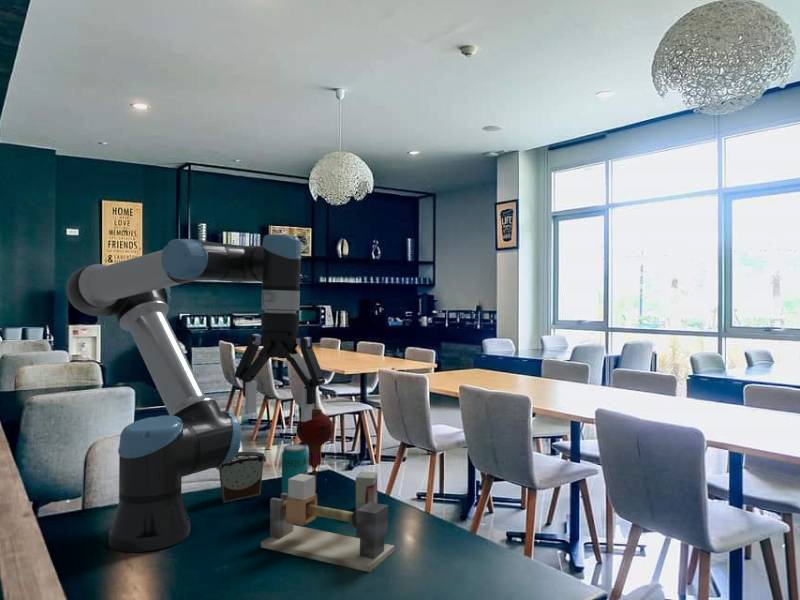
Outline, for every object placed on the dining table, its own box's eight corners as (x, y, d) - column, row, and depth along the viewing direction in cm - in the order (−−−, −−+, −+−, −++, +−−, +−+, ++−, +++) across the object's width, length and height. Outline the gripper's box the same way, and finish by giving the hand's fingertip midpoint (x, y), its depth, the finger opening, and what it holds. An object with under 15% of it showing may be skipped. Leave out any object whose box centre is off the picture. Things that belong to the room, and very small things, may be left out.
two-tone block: (286, 522, 116) (286, 479, 116) (300, 514, 120) (300, 472, 120) (303, 525, 114) (303, 482, 114) (317, 517, 118) (317, 475, 118)
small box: (373, 513, 134) (374, 478, 134) (355, 512, 135) (355, 477, 135) (377, 505, 139) (377, 471, 139) (359, 504, 140) (359, 471, 140)
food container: (254, 487, 152) (254, 448, 152) (265, 493, 147) (266, 453, 147) (207, 497, 144) (208, 456, 144) (217, 504, 139) (218, 461, 139)
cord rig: (260, 547, 115) (261, 498, 115) (291, 529, 124) (291, 484, 124) (369, 572, 105) (370, 518, 105) (394, 550, 114) (394, 501, 114)
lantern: (320, 480, 158) (321, 368, 158) (340, 489, 151) (341, 371, 151) (288, 487, 152) (289, 370, 152) (308, 497, 145) (309, 374, 145)
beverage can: (302, 519, 130) (302, 450, 130) (277, 516, 131) (277, 449, 131) (311, 510, 136) (311, 444, 136) (287, 508, 137) (287, 443, 137)
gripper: (218, 309, 121) (216, 413, 121) (324, 314, 111) (321, 427, 111) (242, 309, 128) (240, 407, 128) (343, 313, 118) (340, 420, 118)
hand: (277, 416), depth 120 cm, fingers open, 13 cm apart
